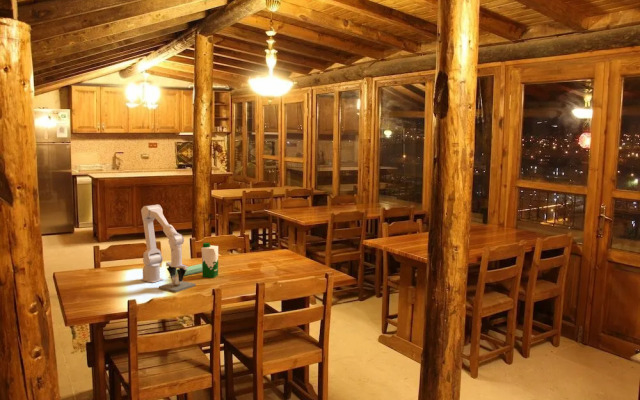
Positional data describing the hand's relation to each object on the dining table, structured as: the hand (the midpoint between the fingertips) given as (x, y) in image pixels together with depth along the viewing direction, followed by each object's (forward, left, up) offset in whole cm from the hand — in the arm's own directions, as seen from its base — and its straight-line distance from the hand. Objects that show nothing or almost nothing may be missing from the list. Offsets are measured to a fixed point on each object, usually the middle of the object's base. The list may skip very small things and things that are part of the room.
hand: (177, 280), depth 309 cm
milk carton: (0, +27, -4) cm, 27 cm away
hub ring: (0, 0, -1) cm, 1 cm away
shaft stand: (0, 0, -4) cm, 4 cm away
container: (-13, +26, -4) cm, 29 cm away
